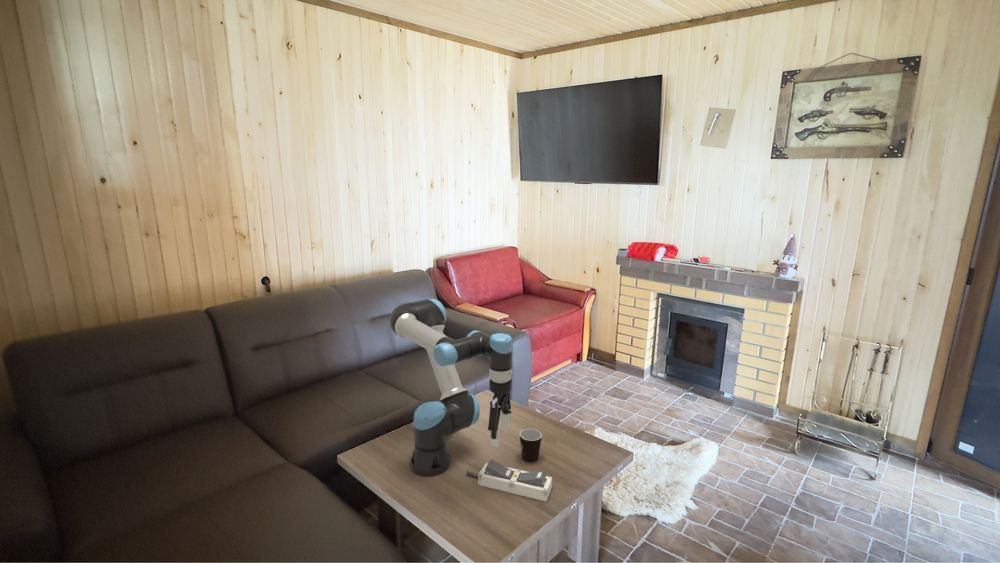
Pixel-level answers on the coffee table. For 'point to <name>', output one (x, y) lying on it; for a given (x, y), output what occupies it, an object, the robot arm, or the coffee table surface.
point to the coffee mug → (530, 444)
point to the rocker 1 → (498, 470)
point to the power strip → (514, 484)
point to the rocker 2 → (532, 478)
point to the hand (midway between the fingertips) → (499, 438)
